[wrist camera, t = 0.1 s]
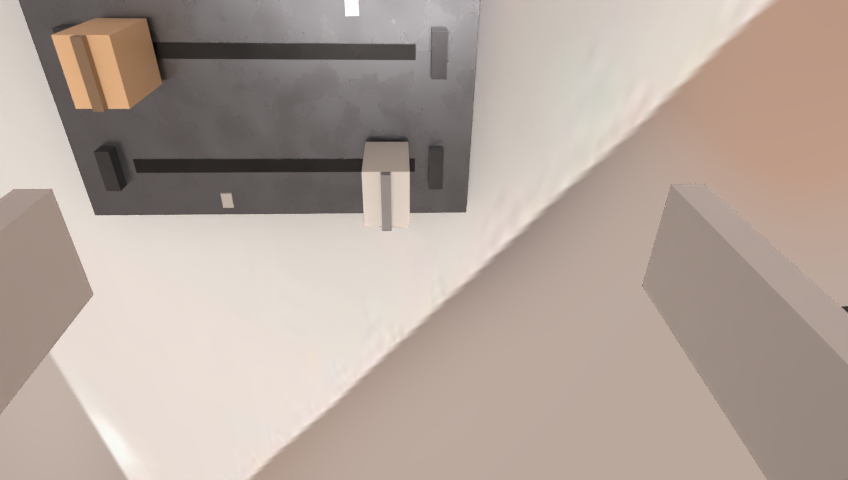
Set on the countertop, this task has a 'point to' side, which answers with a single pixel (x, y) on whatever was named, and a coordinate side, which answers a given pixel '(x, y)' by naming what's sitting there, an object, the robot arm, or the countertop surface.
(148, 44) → the block
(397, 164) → the fader
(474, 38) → the console
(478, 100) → the countertop surface
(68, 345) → the countertop surface
